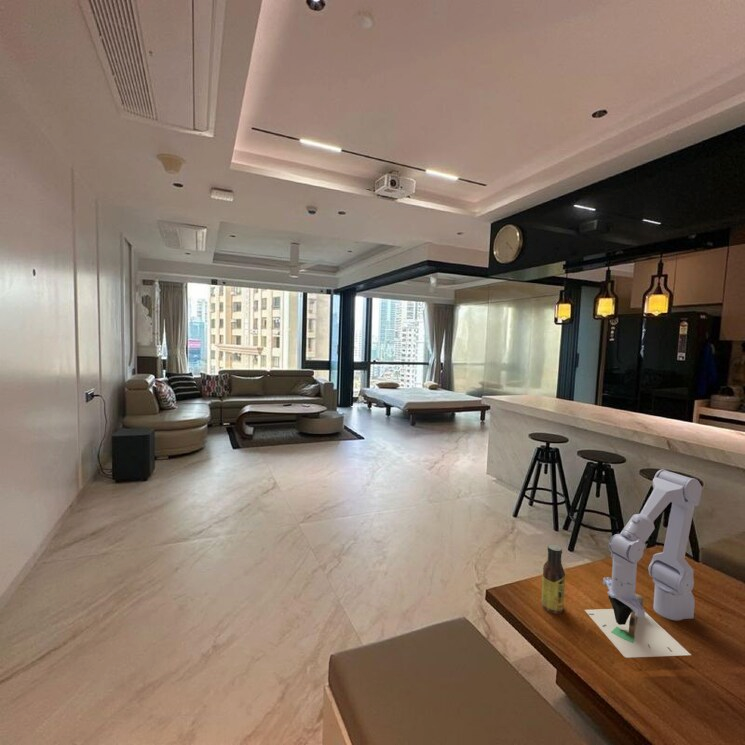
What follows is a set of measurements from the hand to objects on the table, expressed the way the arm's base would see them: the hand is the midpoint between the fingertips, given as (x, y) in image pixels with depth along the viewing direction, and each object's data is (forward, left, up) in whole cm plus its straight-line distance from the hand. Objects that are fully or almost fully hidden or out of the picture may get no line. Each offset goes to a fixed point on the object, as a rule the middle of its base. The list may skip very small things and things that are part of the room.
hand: (620, 623), depth 112 cm
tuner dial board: (-3, +1, -2) cm, 4 cm away
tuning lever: (-5, -1, -1) cm, 5 cm away
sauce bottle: (+15, -10, -3) cm, 18 cm away
